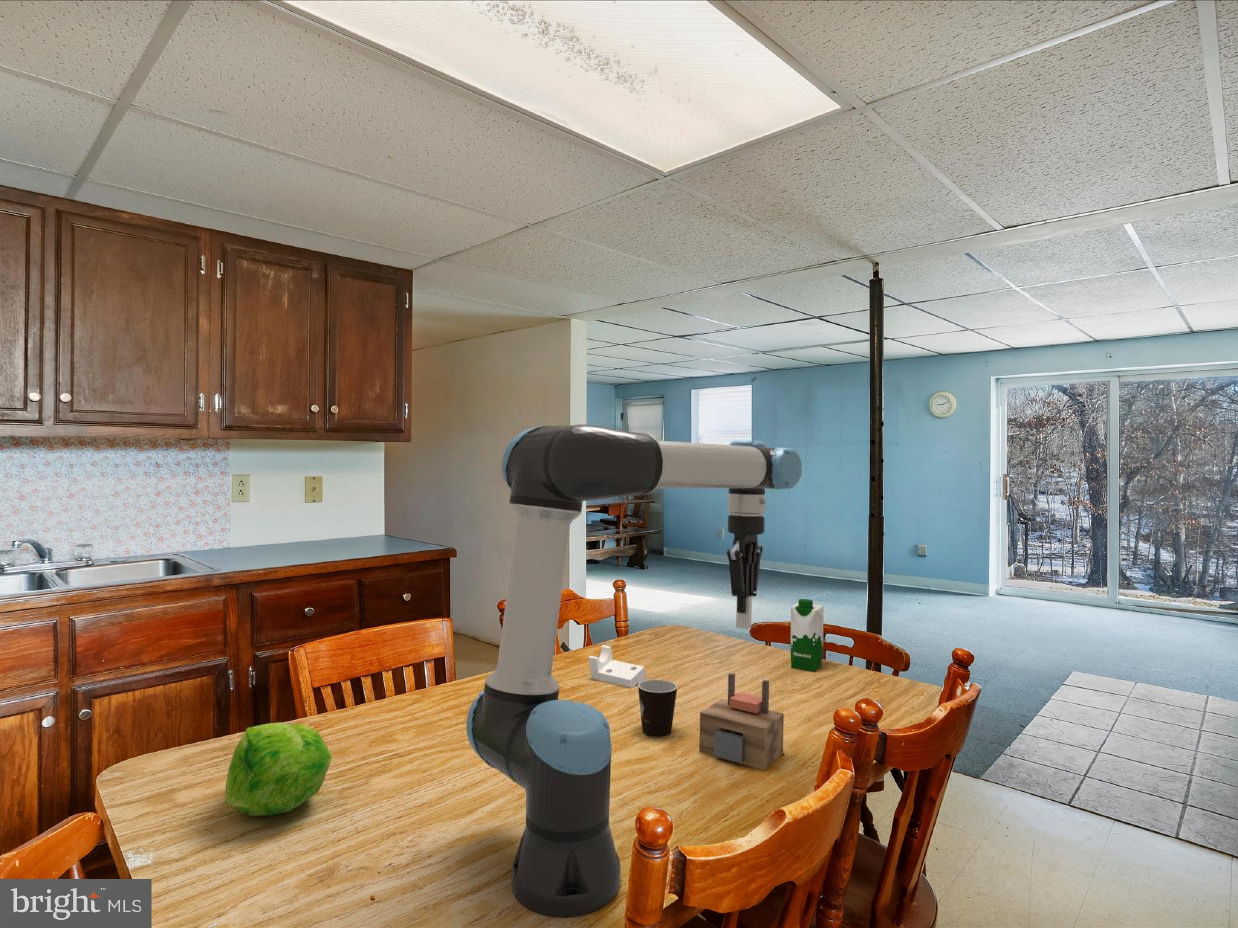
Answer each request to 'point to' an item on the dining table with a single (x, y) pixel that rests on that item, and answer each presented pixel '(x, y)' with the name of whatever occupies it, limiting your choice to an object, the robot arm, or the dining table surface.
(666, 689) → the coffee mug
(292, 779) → the lettuce
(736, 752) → the pin
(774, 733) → the block
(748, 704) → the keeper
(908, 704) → the dining table surface
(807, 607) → the milk carton
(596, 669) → the bracket
